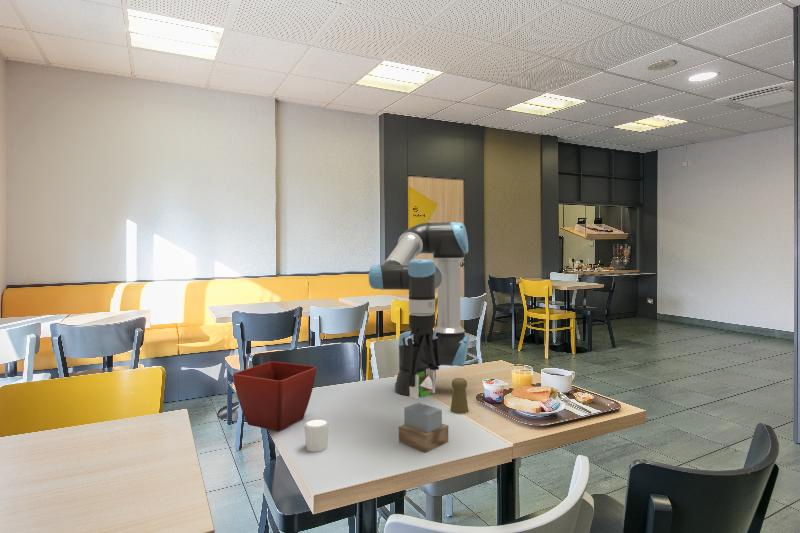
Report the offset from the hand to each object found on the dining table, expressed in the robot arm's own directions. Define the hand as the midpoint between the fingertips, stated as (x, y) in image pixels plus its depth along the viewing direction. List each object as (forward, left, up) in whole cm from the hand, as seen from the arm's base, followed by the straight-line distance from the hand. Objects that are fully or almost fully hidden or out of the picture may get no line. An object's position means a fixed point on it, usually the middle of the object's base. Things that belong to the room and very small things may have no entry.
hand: (422, 394), depth 137 cm
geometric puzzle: (0, 0, 0) cm, 0 cm away
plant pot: (+20, -45, -14) cm, 51 cm away
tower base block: (0, 0, -14) cm, 14 cm away
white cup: (+23, -19, -14) cm, 33 cm away
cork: (-28, -8, -14) cm, 32 cm away
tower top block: (0, 0, -9) cm, 9 cm away
